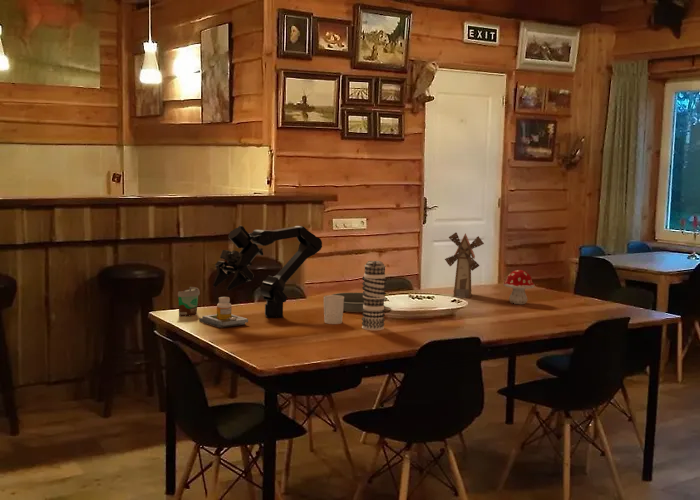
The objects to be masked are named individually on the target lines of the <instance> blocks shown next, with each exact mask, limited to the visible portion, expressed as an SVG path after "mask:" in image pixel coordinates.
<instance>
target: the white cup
mask: <svg viewBox="0 0 700 500" xmlns="http://www.w3.org/2000/svg"><path fill="white" fill-rule="evenodd" d="M343 307H344V297H343V296H339V295H332V294H328V295H324V296H323V315H324V316H323V318H324V319H323V322H324V323H325V324H328V325H339V324H342V323H343V315H344V311H343Z"/></svg>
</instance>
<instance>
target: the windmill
mask: <svg viewBox="0 0 700 500" xmlns="http://www.w3.org/2000/svg"><path fill="white" fill-rule="evenodd" d="M448 239H449V240H450V241H451V242H452V243H454V244H455V245H456V246H457V249H456V251H455V252H454V255H451V256H449V257H446V258H444V260H445V262H446V263H447V265H448V266H449V267H451V266H453V265H454V263H455V262H456V270H455V277H454V279H455V280H454V285H453V287H454V289H453V297H457V298H458V299H466V298H472V272H473V271H474V270H475V269H478V268H479V267H480V264H479V263H478V262H477V261H476V260H475V258H476V256H475V253H474V251H473V249H476V248H478V247H480V246H483V245H485V244H484V242H483V240H482V239H481V238H480V236H478V235H477V236H476V238H475V239H473V241H472V242H471V243H470V241H469V238H468V235H467V233H464V235H463V237H462V239H460V237H459V235H458V233H457V232H454V233H452V234H451V235H450V236H449V237H448Z"/></svg>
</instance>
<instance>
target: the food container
mask: <svg viewBox="0 0 700 500" xmlns="http://www.w3.org/2000/svg"><path fill="white" fill-rule="evenodd" d="M200 295H201V292H200V289H199V288H198V287H195V286H189V288H188V289H184V290H183V291H180V290H179V291H177V297H178V298H177V299H178V300H177V301H178V316H179V317H193V316H196V315H197V314H198V302H199V296H200Z"/></svg>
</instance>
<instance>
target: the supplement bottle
mask: <svg viewBox="0 0 700 500" xmlns="http://www.w3.org/2000/svg"><path fill="white" fill-rule="evenodd" d="M230 301H231V299H230V297H229V296H220V297H218V303H217V304H216V314H217V319H219V320H225V319H229V317H231V314H232V303H230Z"/></svg>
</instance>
